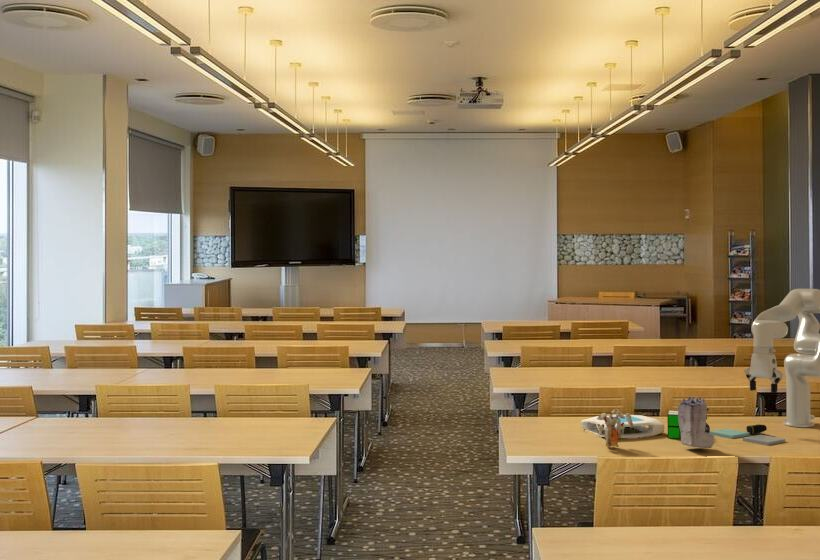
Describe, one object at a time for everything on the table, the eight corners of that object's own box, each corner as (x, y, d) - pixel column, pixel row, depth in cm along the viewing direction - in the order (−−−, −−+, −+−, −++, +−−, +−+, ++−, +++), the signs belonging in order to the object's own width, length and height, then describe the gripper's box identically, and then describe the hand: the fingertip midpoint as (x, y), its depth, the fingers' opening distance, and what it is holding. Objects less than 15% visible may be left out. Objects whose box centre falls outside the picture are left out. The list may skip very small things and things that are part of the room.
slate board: (760, 437, 333) (760, 434, 333) (785, 442, 324) (785, 439, 324) (742, 440, 326) (742, 437, 326) (767, 445, 317) (767, 442, 317)
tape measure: (768, 432, 337) (766, 423, 337) (755, 434, 334) (753, 425, 335) (756, 433, 343) (754, 424, 344) (744, 435, 340) (742, 426, 341)
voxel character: (621, 444, 320) (620, 406, 320) (634, 449, 311) (634, 410, 311) (595, 446, 317) (595, 408, 317) (608, 451, 308) (607, 411, 308)
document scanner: (580, 431, 349) (580, 416, 349) (635, 427, 358) (635, 413, 358) (607, 440, 329) (607, 425, 329) (665, 436, 338) (665, 421, 338)
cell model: (718, 450, 308) (718, 398, 308) (692, 452, 306) (692, 399, 306) (700, 444, 320) (700, 393, 320) (675, 445, 319) (675, 394, 319)
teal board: (726, 431, 346) (726, 428, 346) (749, 435, 337) (749, 432, 337) (709, 434, 340) (709, 431, 340) (731, 438, 331) (731, 435, 331)
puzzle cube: (693, 435, 338) (693, 411, 338) (693, 439, 329) (693, 415, 329) (668, 433, 342) (668, 410, 342) (667, 438, 332) (667, 414, 332)
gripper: (787, 352, 333) (787, 393, 333) (750, 349, 347) (750, 388, 348) (776, 353, 329) (777, 394, 329) (739, 350, 343) (739, 390, 343)
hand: (763, 391), depth 338 cm, fingers open, 9 cm apart
